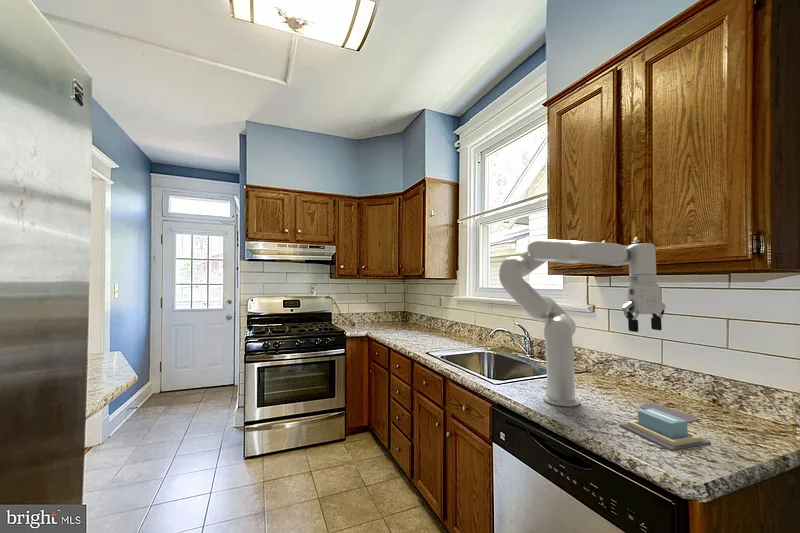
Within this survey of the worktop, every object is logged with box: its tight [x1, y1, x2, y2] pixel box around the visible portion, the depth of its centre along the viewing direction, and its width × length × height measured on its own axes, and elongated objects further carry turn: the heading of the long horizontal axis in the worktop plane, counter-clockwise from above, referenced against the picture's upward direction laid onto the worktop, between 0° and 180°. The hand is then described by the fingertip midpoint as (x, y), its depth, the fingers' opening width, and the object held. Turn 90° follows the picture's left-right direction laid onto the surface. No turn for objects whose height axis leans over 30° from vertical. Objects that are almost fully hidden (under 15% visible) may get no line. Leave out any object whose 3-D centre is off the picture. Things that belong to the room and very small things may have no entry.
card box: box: [637, 408, 689, 440], centre depth 102 cm, size 10×6×5 cm, turn 15°
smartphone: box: [639, 402, 699, 424], centre depth 118 cm, size 7×1×15 cm
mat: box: [619, 419, 712, 452], centre depth 102 cm, size 16×14×2 cm
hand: (645, 330), depth 117 cm, fingers open, 9 cm apart
